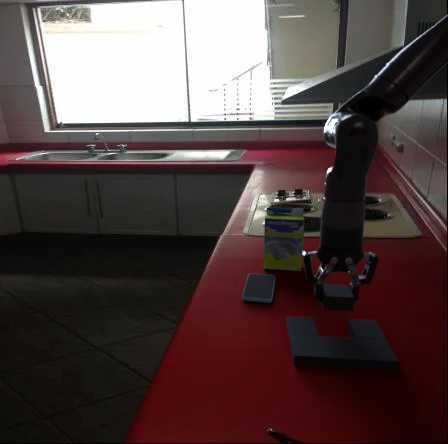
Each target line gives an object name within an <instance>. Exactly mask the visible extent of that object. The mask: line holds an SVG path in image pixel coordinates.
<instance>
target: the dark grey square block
mask: <svg viewBox="0 0 448 444" xmlns="http://www.w3.org/2000/svg"><path fill="white" fill-rule="evenodd" d="M349 286H350V285H349V284H341V283H340V284H338V283H335V284H334V283H323V295H322V302H320V304H321V307H322V308H321V309H322V310H323V311H340V312H341V311H342V312H354V305H355V303H354V296H353V294H352V292H351V291H350V289H349Z"/></svg>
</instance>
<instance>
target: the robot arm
mask: <svg viewBox="0 0 448 444" xmlns="http://www.w3.org/2000/svg"><path fill="white" fill-rule="evenodd" d="M447 64H448V13H447V14H446V15H445V16H444V17H443V18H441V19H440V20H439V21H438V22H436V23H435V24H433V25H432V26H431V27H430V28H428V29H427V30H425V31H423V33H421V34H420V35H419V36H417V37H415V39H413V40H412V41H411V42H409V43H408V44H407V45H405V46H404V47H403V48H402V49H400V50H399V51H398V52H397V53H396V54H394V56H393V57H392V58H390V60H389V61H387V63H386V64H385V65H384V66H383V67H382V68H381V69H380V70H379V71H378V72H377V74H375V75H374V76H373V78H372V79H371V80H370V81H369V83H368V84H367V85H366V86H365V87H364V88H362V89H361V90H359V91H358V92H357V93H356V94H354V95H353V96H351V97H350V98H349V99H348V100H347V101H346V102H344V103H343V104H342V105H340V106H339V108H337V109H336V110H335V111H334V112H333V113H332V114H331V116H330V117H329V118H328V120H327V121H326V123H325V125H324V128H323V139H324V141H325V143H326V144H327V146H329V147H330V148H332V149H333V150H335V151H334V159H333V164H332V166H330V167H328V169H327V170H326V173H325V177H324V190H323V191H324V192H323V201H322V205H321V213H320V229H319V230H320V231H319V242H318V243H319V244H318V247H317V248H316V250H313V251H308V250H304V249H303V252H302V265H303V269H304V270H303V271H304V275H305V279H306V281H307V282H308V283H310V284H313V285H314V286H313V296H314V298H315V300H317V302H318V303H321V302H322V295H323V284H325V281H326V279H327V278H328V277H329V276H330V274H331V273H336V272H341V273H348V275H349V277H350V279H351V281H350V282H349V285H348V286H349V289H350V291H351V292H352V294H353V296H354V304H355V303H356V302H358V300H360V299H359V298H360V297H359V296H360V288H361V286H364V285H367V286H368V285H370V284H371V283H372V281H373V278H374V276H375V272H376V269H377V266H378V264H379V261H380V258H379V256H378V255H377V254H376V253H375V252H374V251H369V252H366V251H363V241H364V239H363V238H364V229H365V218H366V195H367V194H366V193H367V183H368V175H369V172H370V170H371V167H372V166H373V165H372V164H373V161H374V158H375V155H376V153H377V148H378V145H379V128H378V124H377V123H378V122H379V121H380V120H382V119H383V118H384V117H386V116H390V115H393V114H396V113H397V112H399V111H400V110H401V109H402V108H404V106H406V105H407V104H408V103H409V102H410V100H412V99H413V97H415V96H416V94H417V93H419V92H420V90H422V89H423V87H424V86H425V85H426V84H427V83H429V81H430V80H431V79H432V78H433V77H434V76H435V75H436V74H437V73H438V72H439V71H441V70H442V69H443V68H444V67H445V66H446V65H447ZM316 258H317V259H318V260H319V261H320V262H321V263H320V265H319V267H318V270H317V272H316V273H315V274H313V267H312V264H314V263H315V259H316ZM361 260H363V262H364V266H363V270H362V272H361V275H359V274H358V272H357V269H356V266H357V265H358V264H359V263H360V261H361Z"/></svg>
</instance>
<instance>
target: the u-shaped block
mask: <svg viewBox="0 0 448 444" xmlns="http://www.w3.org/2000/svg"><path fill="white" fill-rule="evenodd" d="M285 326H286V327H285V328H286V331H287V332H286V333H287V337H288V343H289V348H290V352H291V358H292V363H293V365H299V366H313V367H316V366H317V367H330V368H331V367H332V368H347V369H360V370H361V369H363V370H376V371H393V372H394V371H395V372H398V371H399V366H400V360H399V359H398V356H397V355H396V353H395V352H394V350H393V348H392V346H391V345H390V343H389V341H388V339H387V338H386V335H385V334H384V332H383V330H382V329H381V327H380V325H379V324H378V322H377V320H376V319H357V318H347V324H346V328H347V330H348V333H349V335H350V336H349V337H348V336H331V335H330V336H327V335H319V333H318V330H317V327H316V323H315V319H314V317H313V316H293V315H292V316H289V315H286V317H285Z"/></svg>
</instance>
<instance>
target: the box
mask: <svg viewBox="0 0 448 444" xmlns="http://www.w3.org/2000/svg"><path fill="white" fill-rule="evenodd" d="M284 210H285V211H287V212H280V211H284ZM304 211H305V208H304V207H303V208H302V207H274V206H273V207H272V206H271V207H266V214H264V229H263V230H264V234H263V235H264V237H263V242H264V243H263V264H262V265H263V266H262V267H263V269H264V270H265V269H267V270H281V271H291V272H292V271H293V272H302V268H303V267H302V265H303V258H302V252H303V251H304V241H305V215H304Z"/></svg>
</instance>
